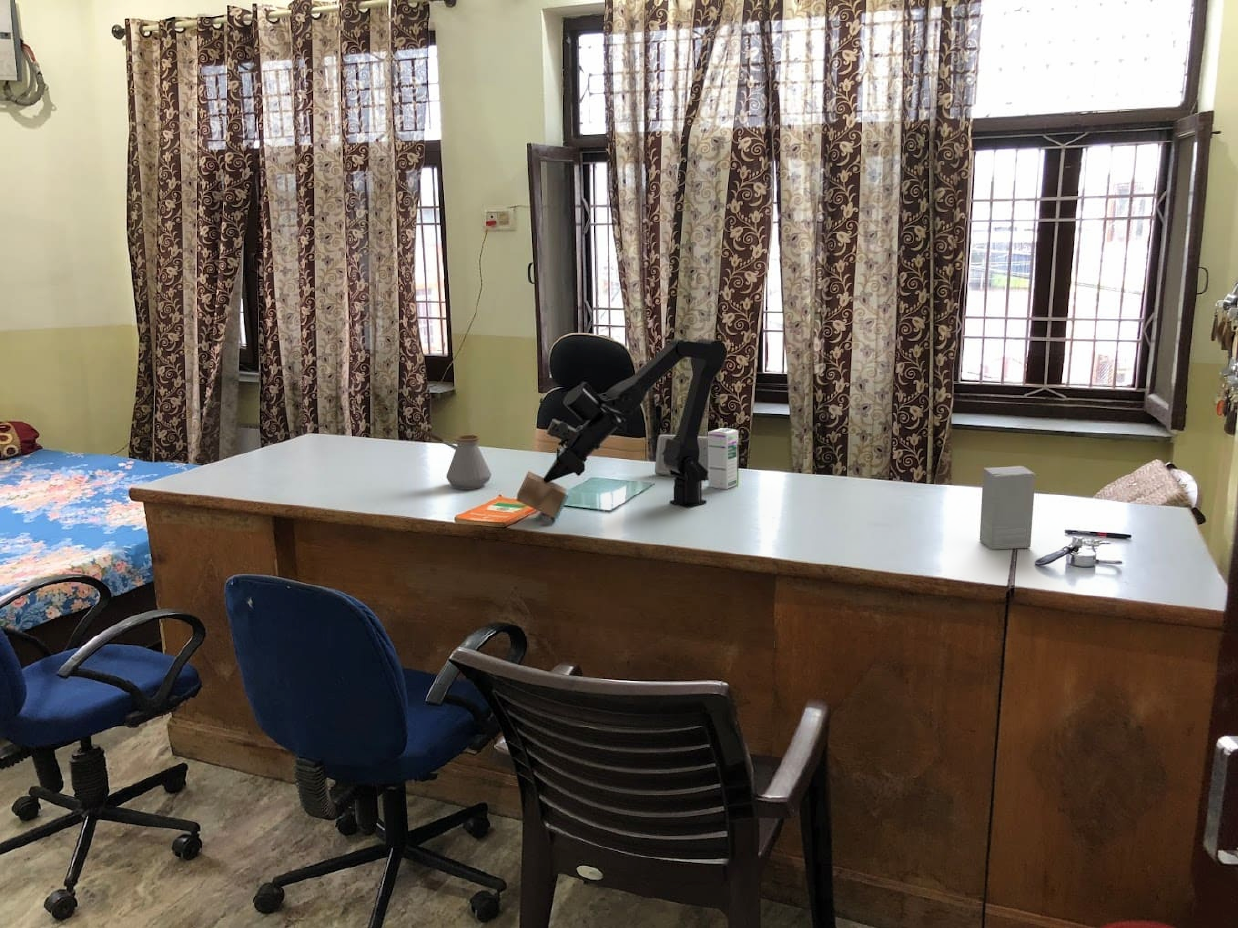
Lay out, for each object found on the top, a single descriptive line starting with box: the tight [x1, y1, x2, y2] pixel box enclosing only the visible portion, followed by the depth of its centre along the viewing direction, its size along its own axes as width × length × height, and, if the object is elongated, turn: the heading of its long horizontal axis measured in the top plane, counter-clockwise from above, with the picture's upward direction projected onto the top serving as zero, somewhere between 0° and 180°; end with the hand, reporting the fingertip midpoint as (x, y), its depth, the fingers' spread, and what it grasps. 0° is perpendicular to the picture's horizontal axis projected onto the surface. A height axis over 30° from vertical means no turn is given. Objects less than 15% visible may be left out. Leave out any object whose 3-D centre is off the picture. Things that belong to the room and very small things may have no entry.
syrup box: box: [707, 427, 740, 490], centre depth 248 cm, size 6×6×14 cm
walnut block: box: [516, 470, 570, 520], centre depth 221 cm, size 6×6×10 cm
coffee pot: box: [412, 426, 492, 490], centre depth 254 cm, size 21×12×15 cm, turn 69°
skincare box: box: [979, 465, 1037, 551], centre depth 196 cm, size 8×7×16 cm
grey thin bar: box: [541, 512, 552, 527], centre depth 222 cm, size 2×12×1 cm, turn 4°
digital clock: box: [654, 434, 708, 479], centre depth 261 cm, size 16×9×11 cm, turn 58°
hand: (544, 481), depth 220 cm, fingers closed, pressing on walnut block
